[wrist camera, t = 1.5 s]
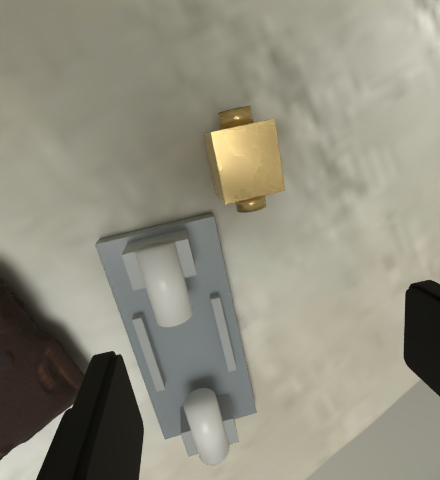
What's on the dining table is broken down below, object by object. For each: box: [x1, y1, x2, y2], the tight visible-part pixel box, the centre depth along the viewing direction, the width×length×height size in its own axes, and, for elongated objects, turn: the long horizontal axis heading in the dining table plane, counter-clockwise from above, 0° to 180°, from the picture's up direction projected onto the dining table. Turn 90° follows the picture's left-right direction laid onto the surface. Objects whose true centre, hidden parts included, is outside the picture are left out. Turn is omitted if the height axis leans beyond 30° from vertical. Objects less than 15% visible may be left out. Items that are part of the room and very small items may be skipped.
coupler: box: [204, 106, 285, 212], centre depth 24 cm, size 7×4×5 cm, turn 12°
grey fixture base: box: [95, 213, 257, 465], centre depth 27 cm, size 22×10×6 cm, turn 12°
